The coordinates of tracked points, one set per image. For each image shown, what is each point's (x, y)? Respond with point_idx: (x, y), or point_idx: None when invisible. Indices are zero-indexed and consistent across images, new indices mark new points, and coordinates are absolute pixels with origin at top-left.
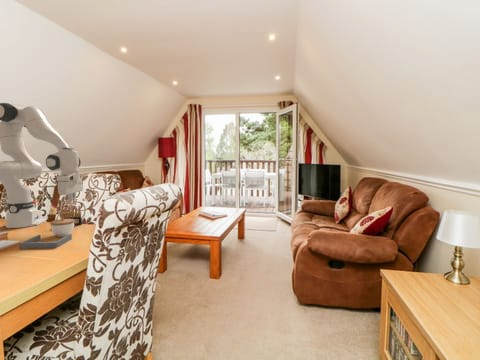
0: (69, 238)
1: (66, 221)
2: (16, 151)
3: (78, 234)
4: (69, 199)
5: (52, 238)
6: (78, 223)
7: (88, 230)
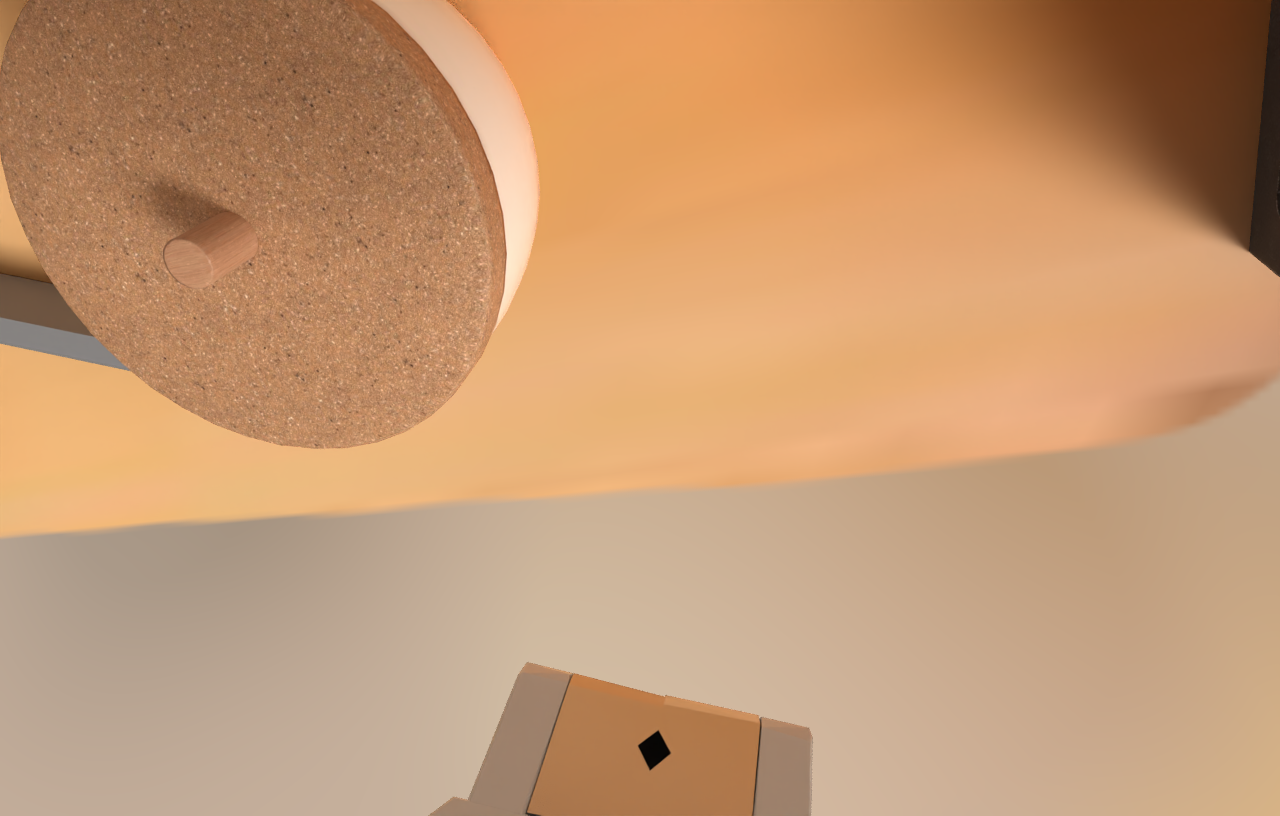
0: None
1: (170, 347)
2: None
3: None
4: (498, 743)
5: None
6: (1272, 201)
7: (662, 462)
